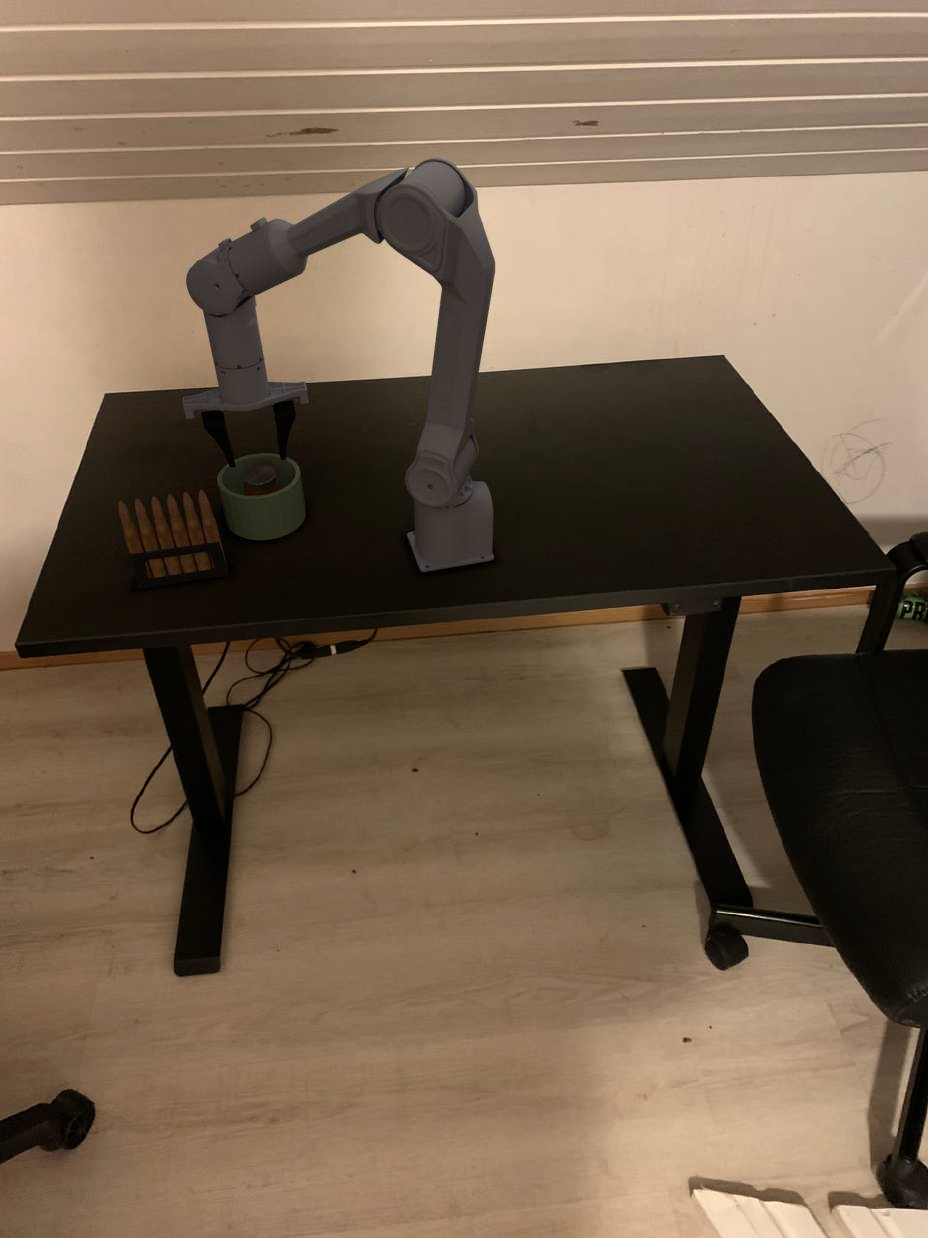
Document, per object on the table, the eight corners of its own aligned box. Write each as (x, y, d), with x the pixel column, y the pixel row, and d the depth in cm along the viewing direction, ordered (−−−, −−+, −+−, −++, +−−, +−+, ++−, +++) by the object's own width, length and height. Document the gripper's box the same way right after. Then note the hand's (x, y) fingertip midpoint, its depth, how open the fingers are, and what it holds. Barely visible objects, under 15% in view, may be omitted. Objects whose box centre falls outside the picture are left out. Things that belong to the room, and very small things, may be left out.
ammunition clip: (228, 565, 107) (209, 484, 99) (229, 575, 106) (209, 493, 98) (138, 579, 105) (111, 497, 97) (138, 588, 104) (110, 506, 96)
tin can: (280, 500, 116) (274, 462, 112) (284, 519, 113) (278, 481, 109) (247, 506, 115) (239, 467, 111) (250, 525, 112) (242, 486, 108)
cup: (300, 489, 119) (294, 448, 115) (311, 533, 112) (305, 491, 108) (224, 500, 117) (214, 459, 113) (229, 546, 110) (219, 503, 106)
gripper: (297, 336, 104) (310, 435, 113) (173, 350, 101) (197, 451, 110) (305, 362, 99) (318, 463, 108) (174, 377, 96) (199, 480, 105)
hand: (257, 459), depth 109 cm, fingers open, 6 cm apart
